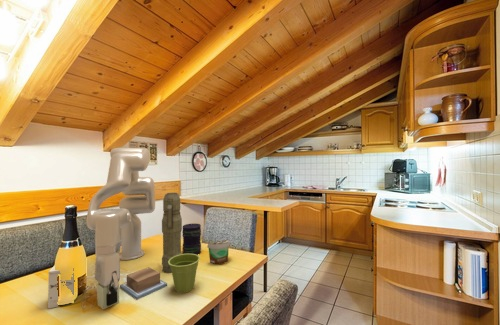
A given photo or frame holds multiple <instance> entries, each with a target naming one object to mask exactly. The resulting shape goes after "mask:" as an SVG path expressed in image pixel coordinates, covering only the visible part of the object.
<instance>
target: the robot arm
mask: <svg viewBox="0 0 500 325" xmlns="http://www.w3.org/2000/svg"><path fill="white" fill-rule="evenodd" d="M109 156H110V161H109V165H108V166H109V167H108V171H107V172H108V173H107V179H106V184H104V186H102V187H101V188H99V189H98V191H96V193H95V194H94V195H93V196H92V198H91V200H90V201H89V205H88V210H87V215H86V227H87V228H88V229H89V230H91V231H95V232H94V233H95V236H94V237H95V239H94V240H95V243H94V244H95V246H94V247H95V249H94V250H95V251H94V252H95V263H94V264H95V265H94V279H95V281H96V282H97V284H98V283H100V284H101V285H102V286H104V287H106V286H107V291H108V294H106V305H107V306H110V305H112V304H114V303H116V302H117V291H118V287H119V288H120V280H121V264H120V263H121V262H120V261H121V260H122V261H129V260H130V261H131V260H135V259H138V258H141V257H143V256H144V255H145V250H143V249H142V220H141V219H140V218H139V216H138V215H142V214H151V213H154V211H155V209H156V190H155V181H154V179H153V178H152V177H150V176H139V172H144V171H146V170H147V169H148V166H149V165H150V162H151V152H150V150H149V149H148V148H146V147H115V148H112V149H111V150H110V153H109ZM121 193H122V195H124V196H125V197H122V199H121V198H120V200H119V204H118V207H119V208H103V209H101V205H102V204H103V203H104V202H105V201H106V200H107V199H109V198H111V197H113V196H116V195H117V194H121ZM111 281H113V282H112V283H110V282H111ZM111 285H113V287H111V289H110V286H111ZM112 306H113V305H112ZM110 307H111V306H110Z"/></svg>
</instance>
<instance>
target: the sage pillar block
mask: <svg viewBox="0 0 500 325" xmlns="http://www.w3.org/2000/svg"><path fill="white" fill-rule="evenodd" d="M112 282H113V281H111V282H110V283H112ZM111 287H113V285H111V286H110V289H111ZM106 294H108V291H107V286H106V287H104V286H102V285H101V284H100V283H98V282H97V306H99V307H100V308H101V309H102V310H105V309H108V308H109V307H110V308H111V307H112V306H114V305H117V304H119V303H120V286H119V287H118V291H117V302H116V303H114V304H112V305H110V306H107V305H106Z"/></svg>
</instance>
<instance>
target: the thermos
mask: <svg viewBox="0 0 500 325" xmlns="http://www.w3.org/2000/svg"><path fill="white" fill-rule="evenodd" d="M162 206H163V207H162V208H163V210H162V211H163V216H162V219H161V232H162V242H163V243H162V257H161V265H162V273H165V274H172V270H171V268H170V265H169V264H168V261H169V259H170V258H172V257H174V256H177V255H180V254H183V252H182V231H183V220H182V215H181V198H180V195H179V193H177V192H167V193H165V194H164V197H163V200H162Z"/></svg>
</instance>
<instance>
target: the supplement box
mask: <svg viewBox="0 0 500 325" xmlns="http://www.w3.org/2000/svg"><path fill="white" fill-rule="evenodd" d="M73 271H74V268H73ZM58 274H61V273H60V271H59V270H55V264H54V265H53V267H51V269H50V270H49V271H48V282H47V283H48V284H47V285H48V288H47V289H48V290H47V291H48V292H47V296H48V297H47V309H53V308H57V307H59V306H58V304H57V302H58V290H57V288H58V287H57V286H58V285H57V283H58V281H57V277H58V276H57V275H58ZM72 275H73V277H71V280H65V281H66V284H65V285H66V286H67V288H68V289H70V290H71V292H72V294H73V295H74V282H75V280H74V273H73V274H72ZM60 281H61V283H63V282H64V283H65V281H62V280H60ZM63 286H64V285H63Z"/></svg>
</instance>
